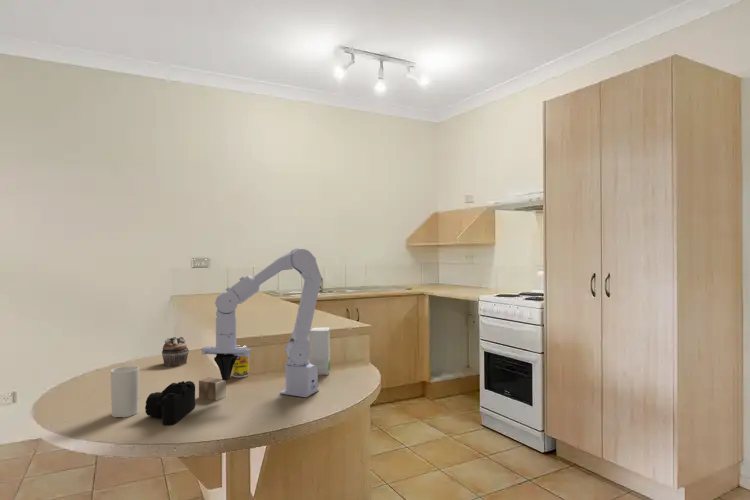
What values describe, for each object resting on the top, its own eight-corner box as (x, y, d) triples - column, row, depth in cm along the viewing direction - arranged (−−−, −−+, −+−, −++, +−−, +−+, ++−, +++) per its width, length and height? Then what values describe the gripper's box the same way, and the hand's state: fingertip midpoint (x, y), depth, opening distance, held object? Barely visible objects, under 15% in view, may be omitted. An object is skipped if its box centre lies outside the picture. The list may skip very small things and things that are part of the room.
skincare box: (328, 375, 165) (328, 330, 165) (309, 375, 165) (309, 330, 165) (330, 369, 173) (330, 326, 173) (312, 369, 173) (312, 326, 173)
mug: (134, 417, 124) (134, 371, 124) (106, 419, 123) (106, 372, 123) (145, 404, 134) (145, 362, 134) (120, 406, 133) (120, 363, 132)
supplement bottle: (231, 378, 161) (231, 348, 161) (233, 374, 166) (233, 345, 166) (247, 377, 162) (247, 347, 162) (250, 373, 167) (249, 344, 167)
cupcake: (156, 366, 177) (156, 339, 177) (171, 360, 187) (171, 335, 186) (179, 367, 175) (179, 340, 175) (193, 361, 185) (193, 335, 185)
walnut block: (225, 379, 141) (208, 377, 144) (216, 383, 138) (198, 380, 141) (225, 396, 141) (208, 393, 144) (216, 400, 138) (198, 397, 141)
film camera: (165, 406, 133) (165, 374, 133) (199, 406, 133) (199, 374, 133) (135, 426, 118) (135, 390, 118) (173, 427, 118) (173, 391, 118)
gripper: (255, 331, 141) (255, 377, 141) (210, 330, 144) (210, 374, 144) (244, 336, 134) (244, 383, 135) (197, 334, 137) (197, 381, 137)
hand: (226, 379), depth 139 cm, fingers closed
